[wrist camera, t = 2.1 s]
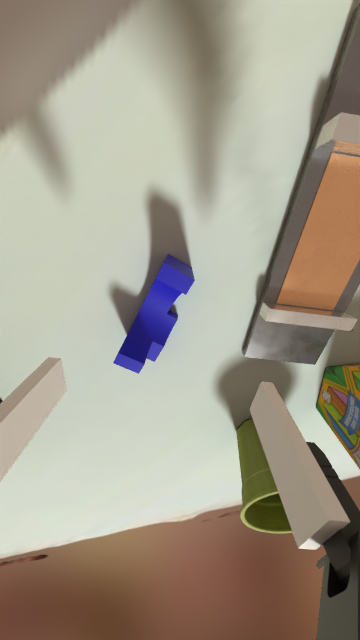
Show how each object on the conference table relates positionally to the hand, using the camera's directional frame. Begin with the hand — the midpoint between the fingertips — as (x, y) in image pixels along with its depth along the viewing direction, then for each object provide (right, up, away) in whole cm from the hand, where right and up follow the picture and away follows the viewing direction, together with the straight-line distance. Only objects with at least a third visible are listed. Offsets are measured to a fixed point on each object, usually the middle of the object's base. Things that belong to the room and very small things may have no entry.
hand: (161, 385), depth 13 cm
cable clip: (-1, +6, +11) cm, 13 cm away
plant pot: (+15, -15, +22) cm, 30 cm away
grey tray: (+17, +13, +8) cm, 22 cm away
